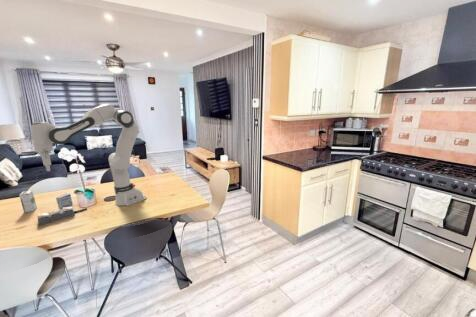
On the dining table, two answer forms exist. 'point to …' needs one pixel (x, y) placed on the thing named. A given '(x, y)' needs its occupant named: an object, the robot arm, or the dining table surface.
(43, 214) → the rocker
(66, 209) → the rocker
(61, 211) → the power strip
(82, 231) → the dining table surface
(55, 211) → the rocker
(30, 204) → the syrup box
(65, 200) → the medicine box
